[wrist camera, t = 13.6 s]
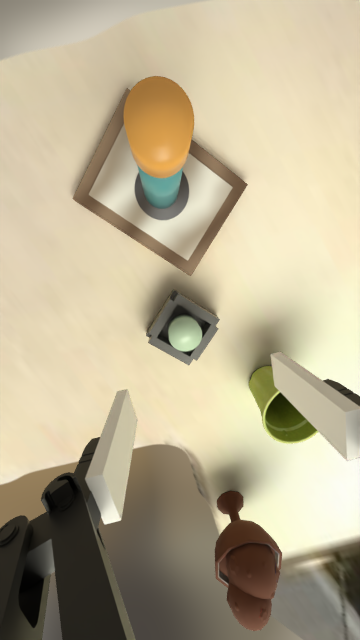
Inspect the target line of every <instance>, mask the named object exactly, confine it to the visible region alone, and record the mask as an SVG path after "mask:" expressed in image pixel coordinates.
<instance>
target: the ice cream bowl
mask: <svg viewBox="0 0 360 640" xmlns="http://www.w3.org/2000/svg"><path fill="white" fill-rule="evenodd" d="M217 507H218V509H219V510H220V511H221V512H222V513H223V514H229V516H230V519H231V523H230V524H229V525H228V526H227V527H226V528H225V529H224V530H223V532H222V533H221V534H220V536H219V538H218V540H217V542H216V547H215V571H216V579H217V580H218V581H220V582H221V583H222V584H224V585H225V586H226V587H228V592H227V601H228V604H229V606H230V608H231V610H232V612H233V614H234V616H235V618H236V619H237V620H238V622H239V623H240V624H241V625H242V626H244V627H245V628H246V629H249V630H253V631H256V630H261V629H262V628H263V627H264V626H265V625H266V624H267V622H268V620H269V617H270V615H271V606H272V604H271V599H272V598H274V595H275V590H276V587H277V583H278V579H279V575H280V572H279V570H280V569H281V560H282V552H281V551H280V549H279V547H278V546H277V544H276V542H275V541H274V540H273V539H272V538H271V536H270V535H269V534H268V533H267V532H266V531H265V530H264V529H263V528H262V527H260V526H259V525H258V524H256V523H254V522H252V521H246V520H240V517H239V514H238V512H239V511H240V510H241V508H242V507H243V496H242V495H241V494H240V493H239V492H235V491H229V492H226V493H224V494H222V495H221V496H220V497H219V498H218V500H217Z"/></svg>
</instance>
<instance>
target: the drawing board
mask: <svg viewBox="0 0 360 640" xmlns="http://www.w3.org/2000/svg"><path fill="white" fill-rule="evenodd" d="M129 93H130V90H129V89H128V88H127V89H126V91H125V93H124V95H123V97H122V99H121V101H120V103H119V105H118V107H117V109H116V111H115V113H114V115H113V117H112V119H111V121H110V124H109V126H108V128H107V130H106V132H105V134H104V136H103V138H102V140H101V142H100V144H99V146H98V148H97V150H96V152H95V154H94V156H93V158H92V160H91V162H90V164H89V166H88V168H87V170H86V172H85V174H84V177H83V179H82V181H81V183H80V185H79V187H78V189H77V191H76V193H75V195H74V197H73V199H74V200H75V201H76V202H78V203H79V204H81V205H82V206H84V207H85V208H87V209H88V210H90V211H91V212H93V213H94V214H96V215H97V216H99V217H101V218H102V219H104V220H105V221H107V222H108V223H110V224H111V225H113V226H114V227H116V228H117V229H119V230H121V231H122V232H124V233H125V234H127V235H128V236H130V237H131V238H133V239H134V240H136V241H137V242H139V243H141V244H142V245H144V246H145V247H147V248H148V249H150V250H151V251H153V252H154V253H156V254H157V255H159V256H161V257H162V258H164V259H165V260H167V261H168V262H170V263H171V264H173V265H174V266H176V267H177V268H179V269H181V270H182V271H184V272H185V273H187V274H188V275H190V276H191V275H192V273H193V272H194V270H195V268H196V267H197V265H198V264H199V262H200V260H201V259H202V257H203V256H204V254H205V252H206V251H207V249H208V248H209V246H210V244H211V243H212V241H213V239H214V238H215V236H216V235H217V233H218V231H219V230H220V228H221V227H222V225H223V223H224V222H225V220H226V219H227V217H228V215H229V214H230V212H231V211H232V209H233V207H234V206H235V204H236V203H237V201H238V199H239V198H240V196H241V195H242V193H243V191H244V190H245V188H246V187H247V185H248V184H247V183H245V182H244V181H243V180H242V179H240V178H239V177H238V176H237V175H235V174H234V173H233V172H232V171H230V170H229V169H228V168H227V167H225V166H224V165H223V164H221V163H220V162H219V161H218V160H216V159H215V158H214V157H213V156H211V155H210V154H209V153H208V152H206V151H205V150H204V149H203V148H201V147H200V146H199V145H198V144H196V143H195V142H194V141H193V140H191V143H190V148H189V153H188V157H187V160H186V162H185V164H184V166H183V171H182V176H181V181H180V186H179V191H178V196H177V199H176V201H175V202H174V204H173V205H171V206H170V207H168V208H165V209H159V208H155V207H154V206H152V205H151V204H150V203H149V202H148V201H147V199H146V197H145V194H144V190H143V186H142V182H141V178H140V174H139V170H138V166H137V163H136V162H135V160H134V158H133V155H132V152H131V148H130V144H129V141H128V137H127V133H126V129H125V125H124V106H125V102H126V99H127V97H128V94H129Z"/></svg>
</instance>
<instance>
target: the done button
mask: <svg viewBox="0 0 360 640" xmlns="http://www.w3.org/2000/svg"><path fill="white" fill-rule="evenodd" d="M168 335H169V341H170V343H171V345H172V346H173V347H174V348H176V349H177V350H180V351H190V350H193V349H194V348H196V347H197V346H198V345H199V344H200V342H201V339H202V330H201V328H200V326H199V325H198V323H197V322H196V320H195V319H194V318H193V317H192V316H189V315H186V314H182V315H178V316H176V317H174V318H173V319H172V320H171V321H170V323H169V326H168Z"/></svg>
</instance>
